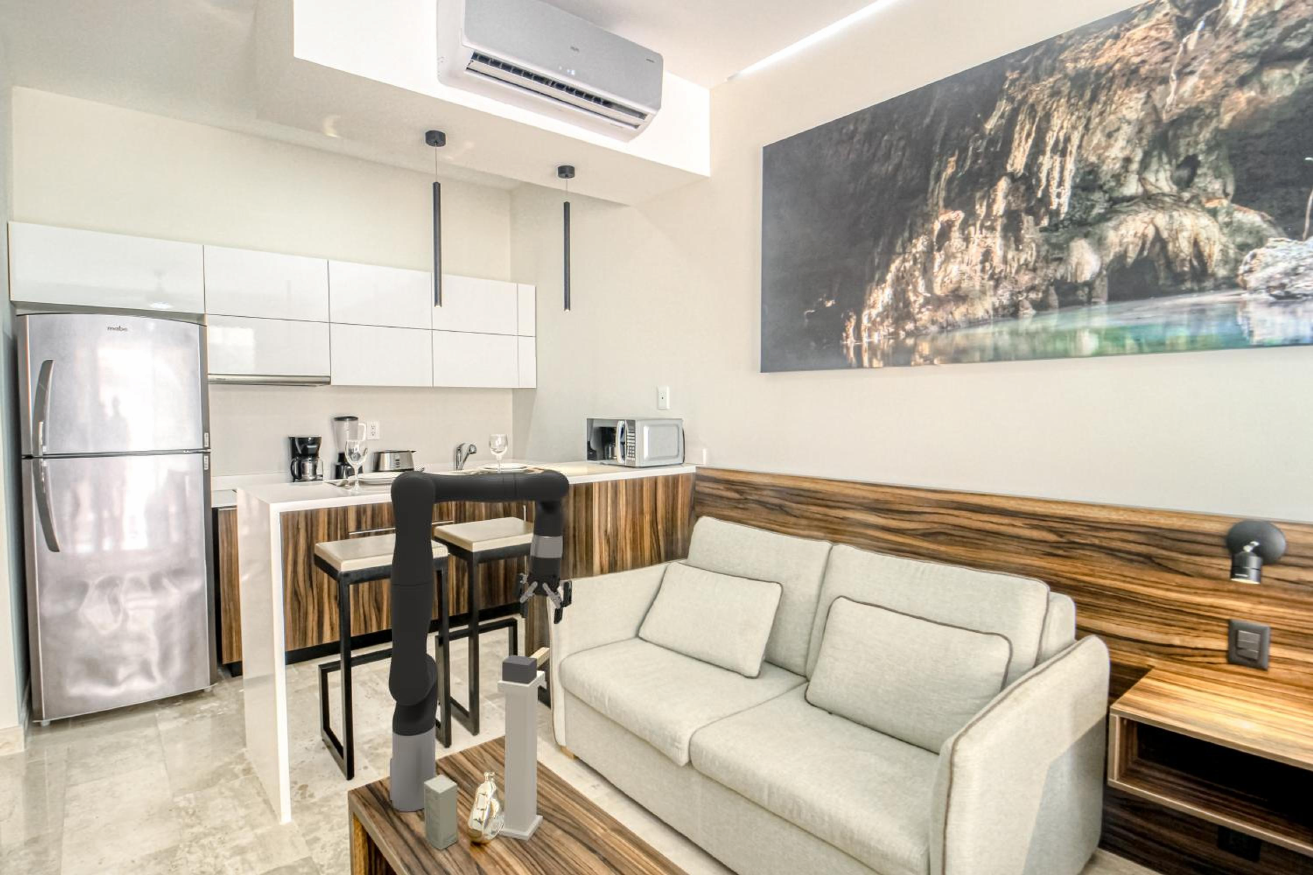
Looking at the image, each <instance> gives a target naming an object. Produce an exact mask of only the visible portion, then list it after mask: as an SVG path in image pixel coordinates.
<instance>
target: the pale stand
mask: <svg viewBox="0 0 1313 875" xmlns="http://www.w3.org/2000/svg"><path fill="white" fill-rule="evenodd" d="M545 681H546V672H545V671H543V670H537V677H536V678H535V679H534V680H533V681H532V682H530V683H529V684H522V683H515V682H508V681H502V678H501V679H500V680H498V681H497V692H498V693H504V696H505V697H504V698H505V702H504V710H505V714H504V814H503V815H504V820H503V823H504V826H503V828H502V829H500V831H499V834H498V835H500V836H502V837H503V836H505V837H508V838H512V839H513V838H514V839H519V840H523V841H526V842H527V841H528V842H529V840H530V839H531V837H533V834H534V833H535V832H536V830H537V829H538V828H539V826H540V825H541V823H543V819H544V818H543V815H539V814H537V806H538V805H537V799H538V796H537V791H538V790H537V789H538V788H537V786H538V781H537V780H538V779H537V778H538V769H537V768H538V703H539V702H538V700H539V699H538V695H539V694H538V692H539V691H538V690H539V687H540V686H541V685H542V684H543V683H544V682H545Z"/></svg>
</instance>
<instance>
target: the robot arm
mask: <svg viewBox="0 0 1313 875" xmlns="http://www.w3.org/2000/svg"><path fill="white" fill-rule="evenodd" d="M570 486H571V485H570V481H569V479H568V478H567V476H566V475H565V474H563V473H561V472H560V471H557V470H554V469H544V470H543V471H541V472H536V473H535V472H534V473H526V472H519V471H518V472H517V471H516V472H515V471H513V472H511V471H510V472H509V471H508V472H490V473H476V474H440V473H431V472H423V471H419V470H407V471H404V472H402V473H399V474H398V475H397V476H396V477H395V478H394V479H393V482H392V484H391V486H390V499H391V503H392V510H393V518H394V519H393V520H394V529H395V538H394V540H395V541H394V548H393V553H392V560H391V568H390V570H391V571H390V609H391V610H390V611H391V612H390V616H391V619H390V620H391V621H390V622H391V639H392V640H391V641H392V642H391V644H392V646H391V654H390V666H389V675H388V684H387V685H388V691H389V693H390V696H391V697H392V699H393V700H394V701H395V705H394V706H395V707H394V711H393V715H392V720H391V722H392V723H391V724H392V725H391V726H392V727H391V728H392V729H391V730H392V731H391V736H392V739H391V743H392V745H391V746H392V748H391V749H392V751H391V752H392V754H391V755H392V757H391V758H390V760H389V800H390V801H391V803H392V806H393V808H394V809H395V810H397V811H401V812H415V811H420V810H421V809H424V782H426V781H428V780H430V779H432V778H434V777H436V720H437V718H436V716H437V710H438V702H439V700H438V697H439V668H438V664H437V662H436V661H435V659H434V657H432V655H430V654H429V653H428V651H427V648H428V647H427V646H428V636H429V632H430V631H429V630H430V626H431V622H432V621H431V620H432V616H433V610H434V605H435V595H436V594H435V587H436V586H435V584H436V583H435V579H436V578H435V561H434V552H433V545H432V525H433V524H432V523H433V515H434V514H433V513H434V508H435V505H437V504H443V503H454V502H468V503H484V504H485V503H486V504H499V503H500V504H503V503H515V502H516V503H518V502H534V519H533V520H534V521H533V529H532V530H533V531H532V537H531V541H530V542H531V543H530V555H529V564H528V574H526V573H524V572H521V573H518V574H516V575H515V580H514V581H515V582H514V588H513V596H512V597H513V599H515V600H518V601H519V604H520V605H519V615H520V618H521V619H526V618H528V616H529V606H530V601H529V600H530V599H531V597H532V596H533V595H534V596H542V597H543V598H549V599H550V601H551V602H552V603H553V604H554V606H555V608H554V612H553V613H554V615H553V624H554V625H558V624H560V623H561V622H562V620H563V616H564V608H567V607H569V606H571V605H572V604H573V600H572V598H573V581H572V580H570V579H569V580H561V578H560V577H561V571H562V570H561V569H562V557H563V545H564V544H563V542H564V541H563V532H564V521H565V520H564V514H563V512H562V500H563V499H564V498H566V496H567V495H568V493H569V491H570ZM525 583H528V586H529V587H528V588H527V590H525V592H524V585H525ZM559 587H561V590H562V591H563V592H562V593H563V594H562V595H561V593H560V591H559Z"/></svg>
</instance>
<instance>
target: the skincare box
mask: <svg viewBox="0 0 1313 875" xmlns="http://www.w3.org/2000/svg"><path fill="white" fill-rule="evenodd" d="M423 809H424V839H425V840H426V841H428V842H429V843H430V844H431V845H433V846H434V847H435V848H437V849H438V850H440V851H442V850H444V849H446V848H448V847H450V846H452V845H453V844H455V843H456V842H458V841H459V822H458V821H459V820H458V818H459V817H458V816H459V815H458V813H459V812H458V810H459V809H458V783H457V782H454V781H453V780H452V779H450V778H449V777H447V776H445V775H443V774H442V773H441V774H439V775H435V777H434V778H432V779H430V780H428V781H426V782H424V808H423Z"/></svg>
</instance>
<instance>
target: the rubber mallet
mask: <svg viewBox="0 0 1313 875" xmlns="http://www.w3.org/2000/svg"><path fill="white" fill-rule="evenodd" d="M549 658H551V648H550V647H543V646H542V647H540V648H539V649H538V650H537V651H536V652H535V653H533V654H532V655H530V656H523V655H516V654H515V655H514V654H511V655H509V656H507V658H505V659H504V660H503V661H502V662H501V663H502V666H501V670H502V671H501V679H502V681H508V682H515V683H522V684H529V683H530V682H532V681H533V680H534V679H535V678H536V677H537V671H538V668H539V667H540V666H541V665H543V664H544V663H545V662H546V661H547V660H549Z"/></svg>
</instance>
